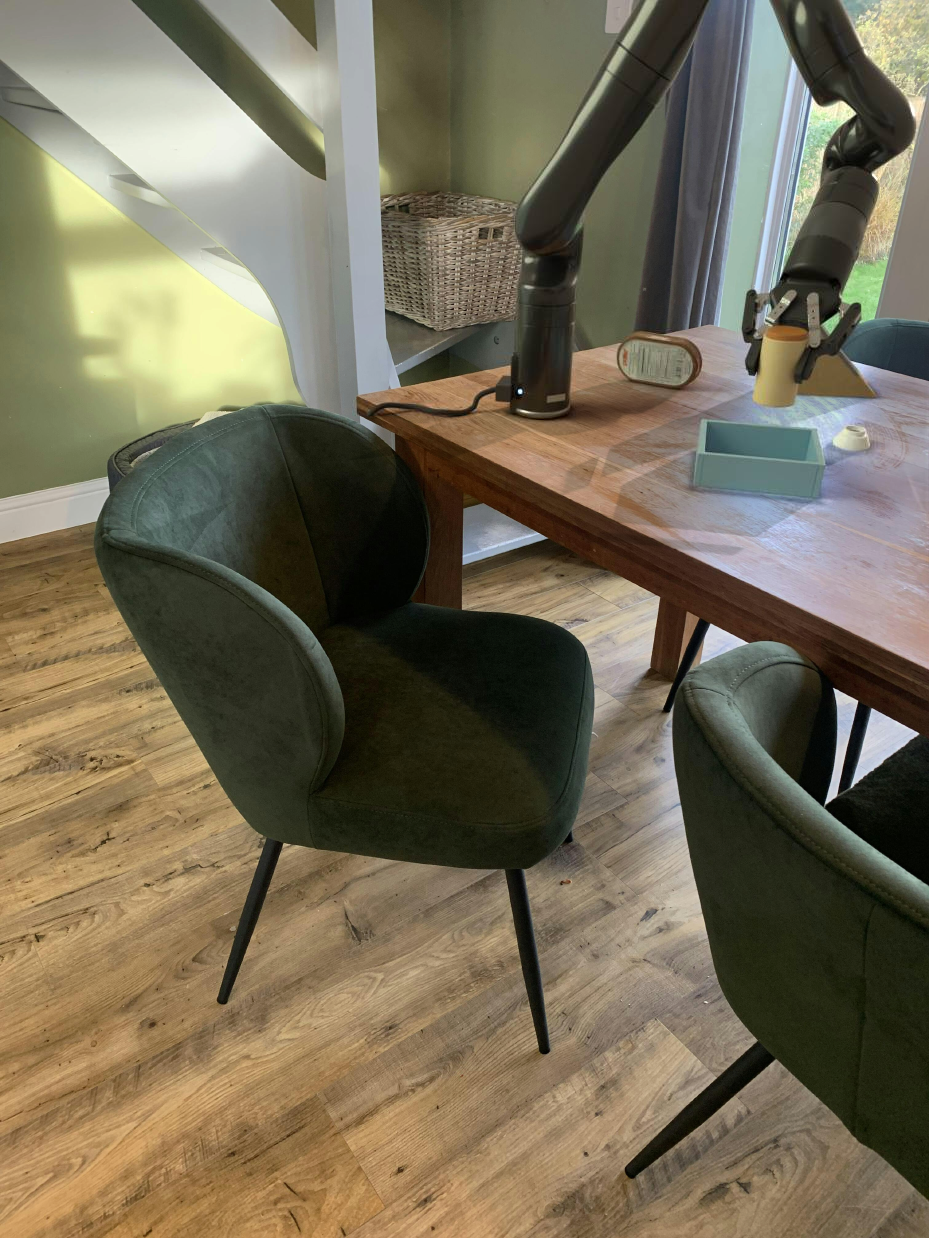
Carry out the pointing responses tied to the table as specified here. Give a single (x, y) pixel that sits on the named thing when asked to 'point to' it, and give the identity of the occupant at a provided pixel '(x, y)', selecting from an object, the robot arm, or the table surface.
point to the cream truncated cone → (852, 438)
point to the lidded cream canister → (779, 366)
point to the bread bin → (759, 458)
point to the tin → (659, 359)
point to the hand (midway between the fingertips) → (774, 375)
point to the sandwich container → (835, 376)
